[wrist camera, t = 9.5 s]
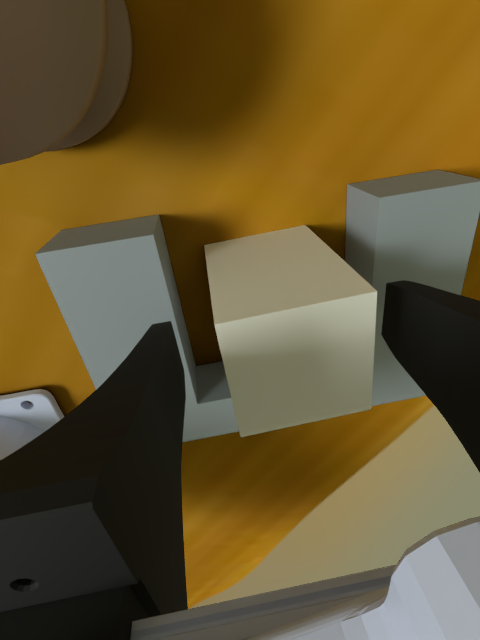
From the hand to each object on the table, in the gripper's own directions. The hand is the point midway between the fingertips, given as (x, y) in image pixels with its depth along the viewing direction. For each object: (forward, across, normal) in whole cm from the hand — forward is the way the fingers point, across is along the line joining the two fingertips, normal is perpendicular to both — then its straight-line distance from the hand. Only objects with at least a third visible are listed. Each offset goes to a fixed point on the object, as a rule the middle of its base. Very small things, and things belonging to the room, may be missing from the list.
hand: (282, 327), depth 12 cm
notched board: (+3, 0, +1) cm, 4 cm away
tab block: (+3, 0, 0) cm, 4 cm away
